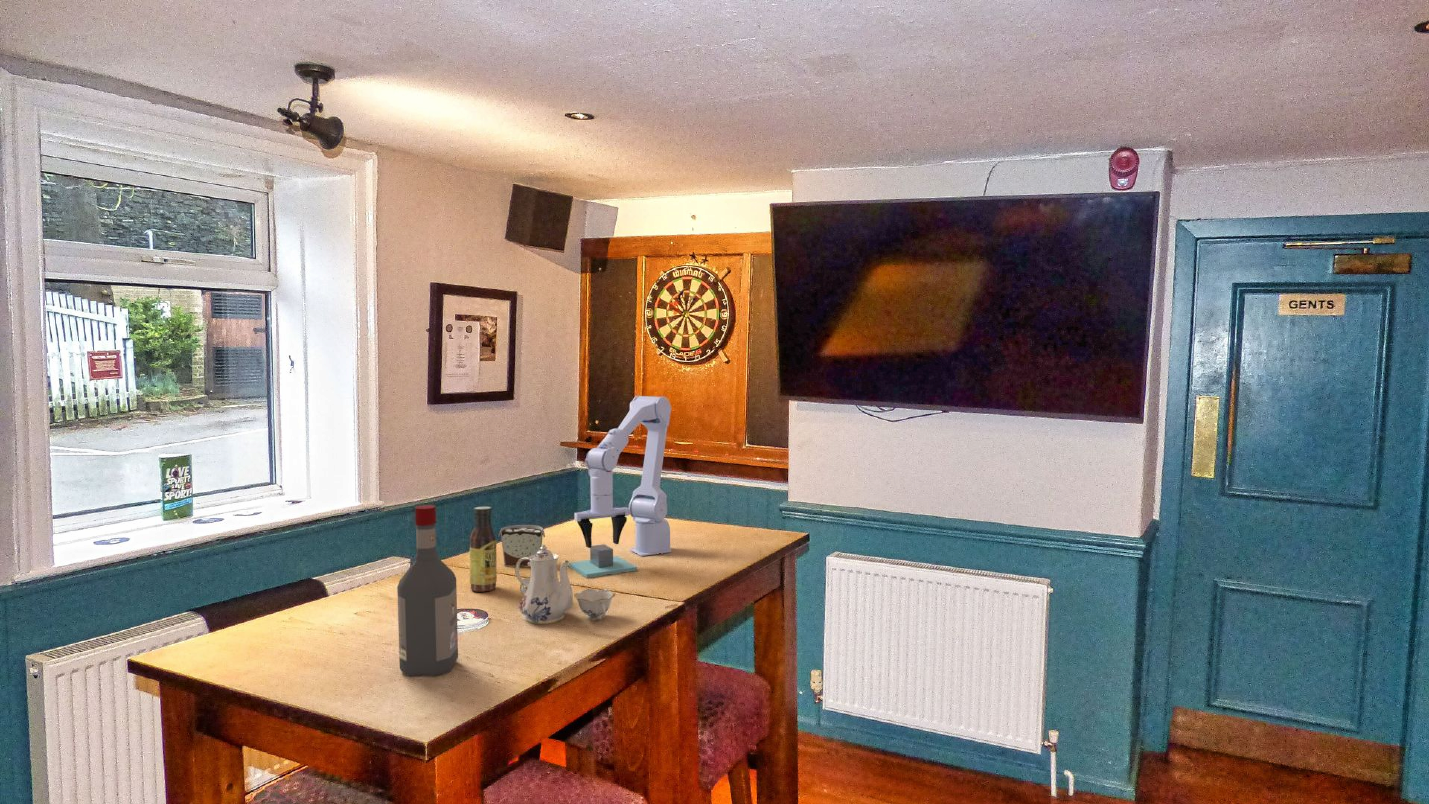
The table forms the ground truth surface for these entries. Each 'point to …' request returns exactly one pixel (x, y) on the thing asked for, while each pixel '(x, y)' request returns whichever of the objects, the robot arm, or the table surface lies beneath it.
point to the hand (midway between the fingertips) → (602, 545)
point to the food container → (520, 543)
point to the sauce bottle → (483, 552)
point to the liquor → (427, 606)
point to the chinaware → (555, 591)
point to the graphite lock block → (601, 556)
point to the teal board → (592, 571)
